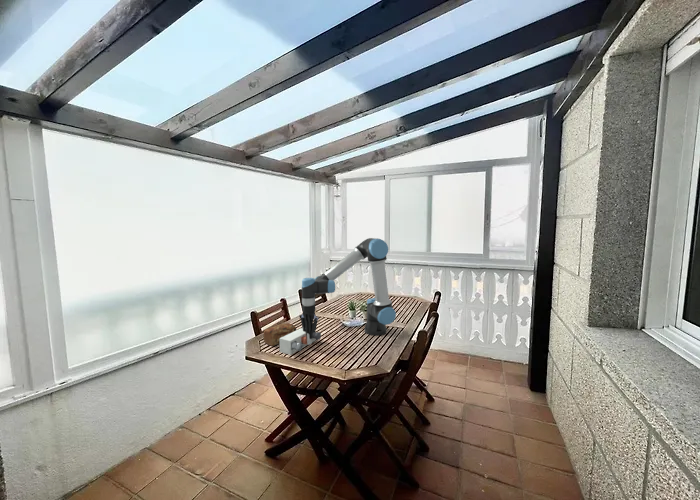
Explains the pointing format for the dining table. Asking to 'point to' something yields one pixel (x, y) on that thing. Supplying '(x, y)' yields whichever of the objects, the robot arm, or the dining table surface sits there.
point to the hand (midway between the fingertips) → (309, 343)
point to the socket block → (292, 337)
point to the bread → (277, 333)
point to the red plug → (304, 340)
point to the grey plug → (317, 335)
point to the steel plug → (297, 346)
